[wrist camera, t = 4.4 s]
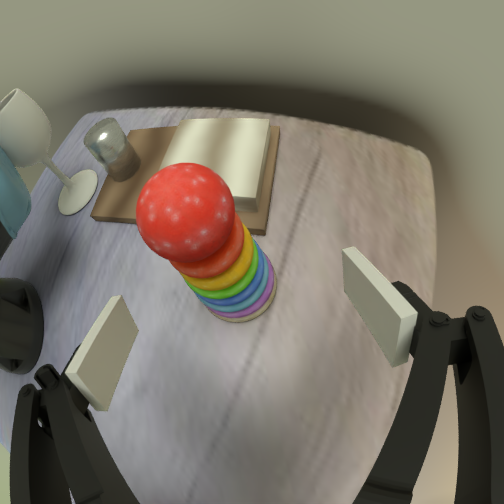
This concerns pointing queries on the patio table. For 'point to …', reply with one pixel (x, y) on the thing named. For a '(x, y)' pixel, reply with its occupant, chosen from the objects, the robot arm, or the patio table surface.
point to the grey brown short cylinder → (112, 149)
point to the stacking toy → (206, 240)
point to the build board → (150, 164)
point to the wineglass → (39, 148)
